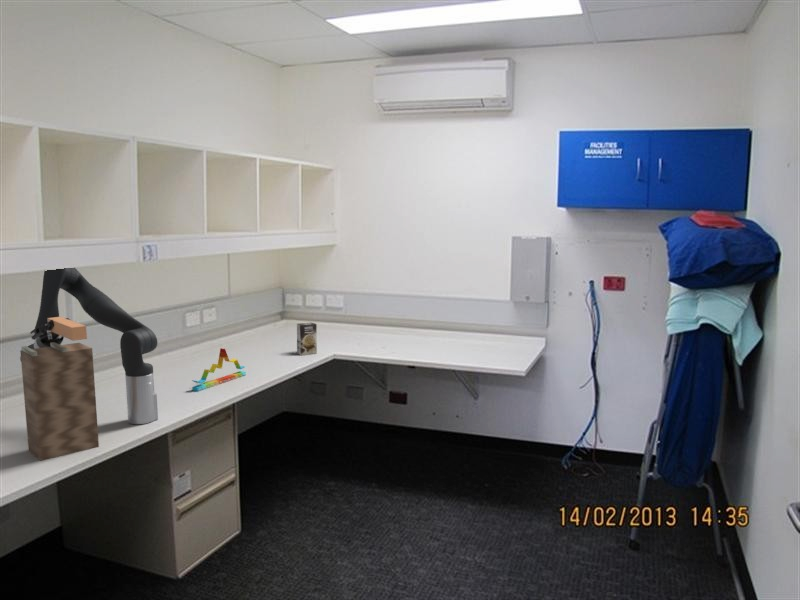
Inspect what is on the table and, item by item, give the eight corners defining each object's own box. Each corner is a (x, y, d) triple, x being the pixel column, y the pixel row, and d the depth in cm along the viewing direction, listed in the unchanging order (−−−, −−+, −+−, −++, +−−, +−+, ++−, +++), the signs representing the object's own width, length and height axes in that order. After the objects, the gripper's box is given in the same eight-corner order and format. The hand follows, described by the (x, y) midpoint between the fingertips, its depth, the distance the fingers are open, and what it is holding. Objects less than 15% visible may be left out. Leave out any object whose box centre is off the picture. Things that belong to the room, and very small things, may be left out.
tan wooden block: (61, 328, 213) (60, 316, 212) (86, 338, 196) (86, 325, 195) (48, 330, 210) (47, 318, 209) (72, 340, 193) (71, 327, 192)
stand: (85, 437, 213) (78, 339, 209) (98, 446, 205) (91, 344, 200) (28, 450, 202) (20, 346, 197) (40, 460, 193) (31, 352, 189)
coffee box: (301, 355, 335) (300, 325, 333) (296, 353, 340) (296, 323, 338) (317, 353, 339) (316, 323, 337) (313, 351, 345) (312, 321, 343)
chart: (198, 392, 268) (196, 357, 266) (192, 391, 269) (190, 356, 267) (246, 375, 295) (245, 343, 293) (240, 375, 296) (239, 343, 294)
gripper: (22, 333, 214) (33, 313, 202) (68, 328, 224) (81, 308, 212) (27, 354, 212) (38, 335, 200) (73, 348, 222) (86, 329, 210)
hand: (60, 321), depth 206 cm, fingers closed on tan wooden block, 4 cm apart
